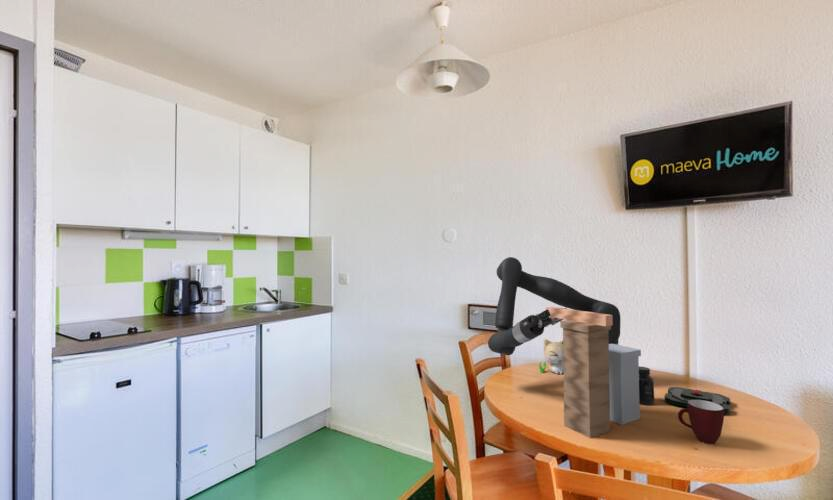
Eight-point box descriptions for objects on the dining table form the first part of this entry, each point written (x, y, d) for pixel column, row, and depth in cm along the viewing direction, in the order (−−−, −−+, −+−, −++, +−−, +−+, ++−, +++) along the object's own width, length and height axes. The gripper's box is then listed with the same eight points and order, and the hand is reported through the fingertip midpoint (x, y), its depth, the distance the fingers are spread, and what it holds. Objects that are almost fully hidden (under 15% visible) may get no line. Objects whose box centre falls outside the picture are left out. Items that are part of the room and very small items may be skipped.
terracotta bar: (546, 316, 126) (546, 307, 126) (552, 315, 128) (552, 306, 128) (605, 326, 107) (605, 315, 107) (612, 325, 108) (612, 315, 108)
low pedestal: (593, 413, 124) (592, 346, 125) (613, 408, 129) (611, 343, 129) (622, 425, 115) (621, 353, 116) (642, 419, 120) (640, 349, 121)
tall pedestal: (561, 425, 116) (560, 320, 117) (583, 418, 121) (582, 318, 121) (590, 438, 107) (588, 325, 108) (612, 431, 112) (610, 322, 112)
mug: (675, 438, 107) (674, 403, 107) (680, 429, 113) (679, 395, 113) (723, 451, 100) (722, 413, 100) (725, 440, 106) (724, 404, 106)
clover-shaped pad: (663, 405, 132) (662, 392, 132) (669, 391, 146) (669, 379, 146) (729, 419, 120) (729, 405, 120) (730, 402, 134) (729, 389, 134)
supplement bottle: (652, 400, 136) (652, 366, 136) (655, 406, 130) (655, 371, 130) (631, 397, 139) (630, 364, 139) (632, 403, 133) (632, 369, 133)
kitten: (543, 375, 165) (542, 341, 165) (535, 369, 175) (535, 336, 175) (576, 375, 165) (576, 341, 166) (567, 369, 175) (567, 336, 176)
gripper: (508, 321, 134) (537, 302, 122) (538, 318, 141) (568, 299, 129) (516, 341, 131) (547, 324, 119) (546, 337, 137) (578, 320, 125)
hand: (558, 311), depth 124 cm, fingers open, 8 cm apart
